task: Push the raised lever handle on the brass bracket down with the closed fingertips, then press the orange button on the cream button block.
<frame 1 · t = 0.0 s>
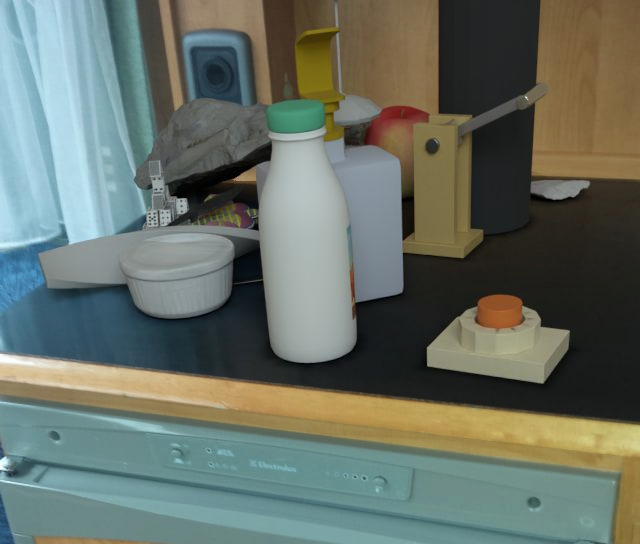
machete: (197, 217, 111), point 4 cm above the counter, touching decorative ornament
button: (499, 312, 82), point 4 cm above the counter, slide at 0.1 cm
vase: (483, 223, 114), on the counter
apple: (403, 198, 124), on the counter
button block: (498, 357, 85), on the counter
lever: (482, 119, 99), point 13 cm above the counter, hinge at 25.0°
stone: (556, 198, 120), on the counter
milk bottle: (314, 349, 89), on the counter
ramekin: (184, 304, 100), on the counter, touching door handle
stone 2: (231, 181, 123), point 3 cm above the counter, touching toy
decorative ornament: (264, 215, 115), point 2 cm above the counter, touching machete
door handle: (176, 247, 102), point 4 cm above the counter, touching ramekin
knife: (246, 289, 102), on the counter
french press: (345, 246, 111), on the counter
soap bottle: (335, 297, 98), on the counter
bracket: (442, 246, 108), on the counter
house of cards: (182, 230, 119), on the counter
rock: (297, 102, 116), point 12 cm above the counter, touching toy
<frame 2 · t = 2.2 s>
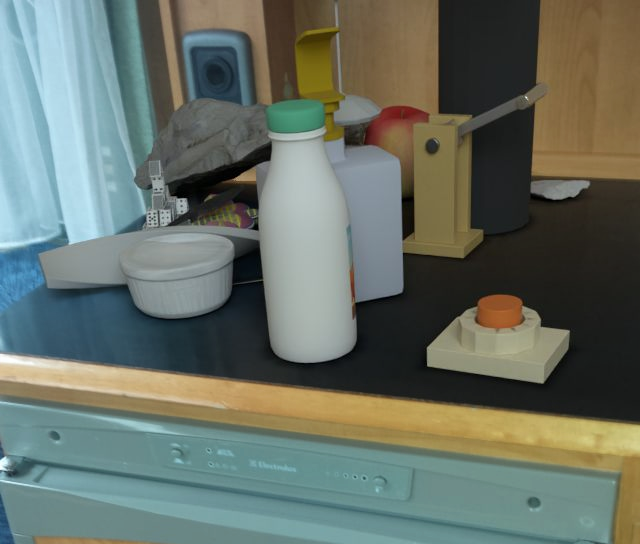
nothing on the counter moved.
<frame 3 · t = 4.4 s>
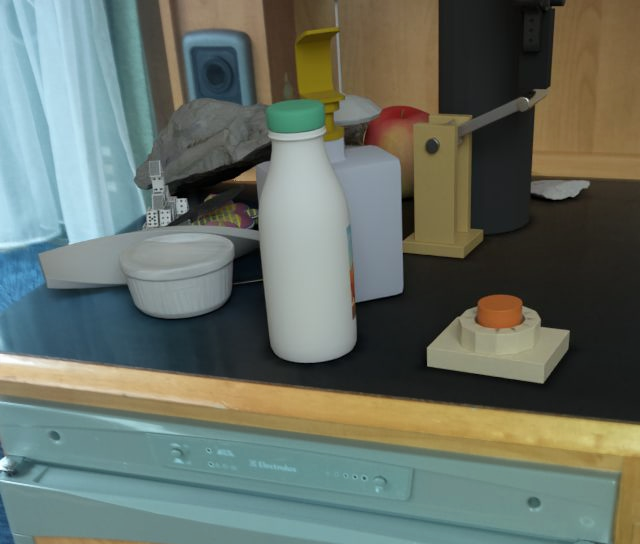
hand: (534, 87, 95), 16 cm above the counter, tool pointing down, fingers closed
lever: (483, 120, 99), point 13 cm above the counter, hinge at 24.0°, touching gripper
everything else where it was.
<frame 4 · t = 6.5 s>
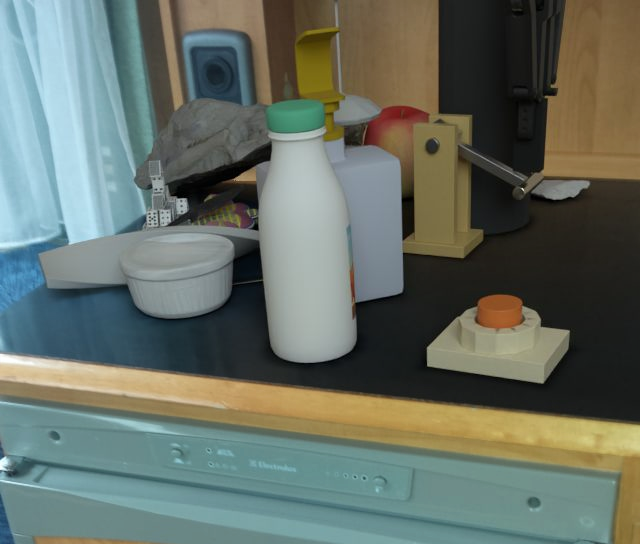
hand: (528, 169, 100), 8 cm above the counter, tool pointing down, fingers closed
lever: (482, 160, 101), point 9 cm above the counter, hinge at -23.9°, touching gripper
everything else where it was.
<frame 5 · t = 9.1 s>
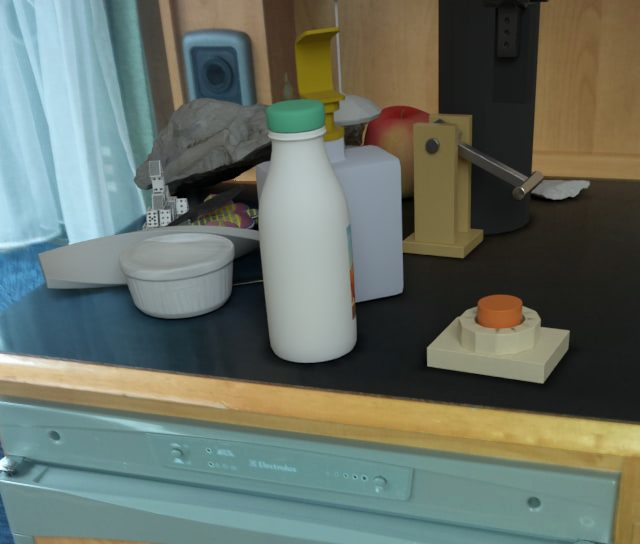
hand: (512, 100, 78), 19 cm above the counter, tool pointing down, fingers closed
lever: (482, 160, 101), point 9 cm above the counter, hinge at -23.9°
everything else where it was.
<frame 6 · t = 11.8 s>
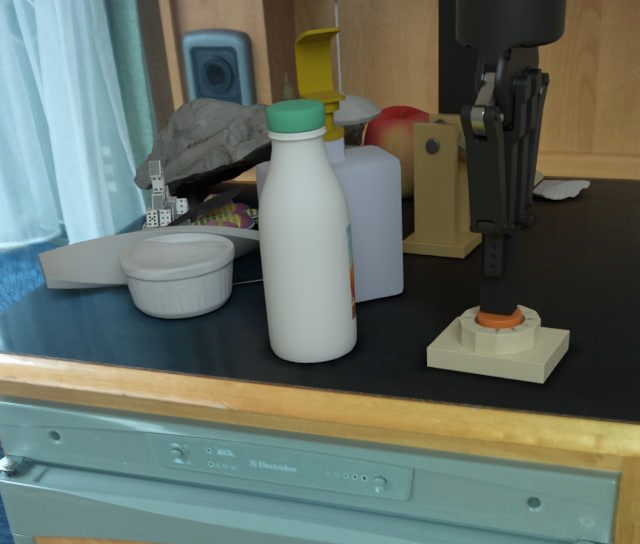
hand: (498, 309, 82), 4 cm above the counter, tool pointing down, fingers closed
button: (499, 322, 83), point 3 cm above the counter, slide at -0.8 cm, touching gripper
everything else where it was.
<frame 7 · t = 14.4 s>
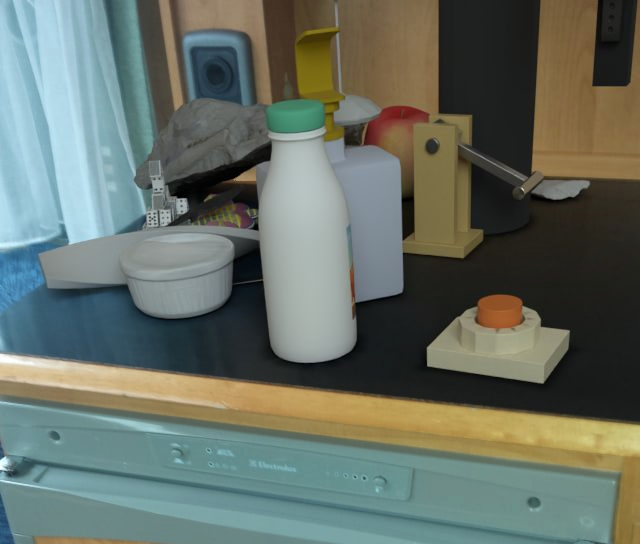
hand: (611, 84, 81), 19 cm above the counter, tool pointing down, fingers closed
button: (499, 312, 82), point 4 cm above the counter, slide at 0.1 cm
everything else where it was.
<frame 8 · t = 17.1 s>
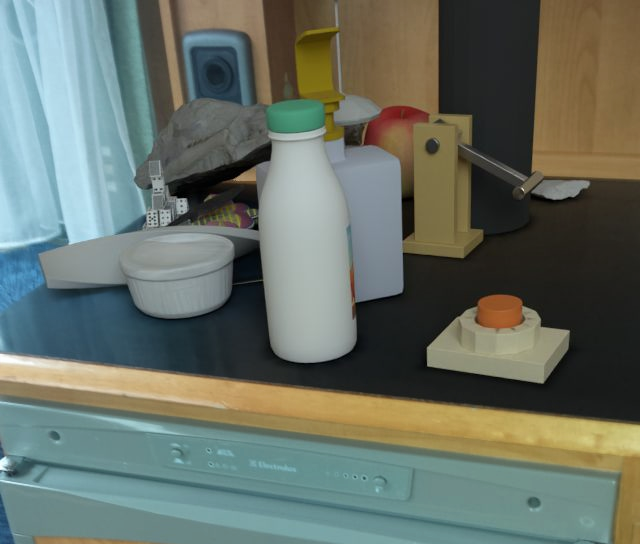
nothing on the counter moved.
at the end: lever at -24° (first picture: +25°); button pushed in 1.0 cm at the most during the clip, back to where it started at the end; button slide at 0.1 cm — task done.
